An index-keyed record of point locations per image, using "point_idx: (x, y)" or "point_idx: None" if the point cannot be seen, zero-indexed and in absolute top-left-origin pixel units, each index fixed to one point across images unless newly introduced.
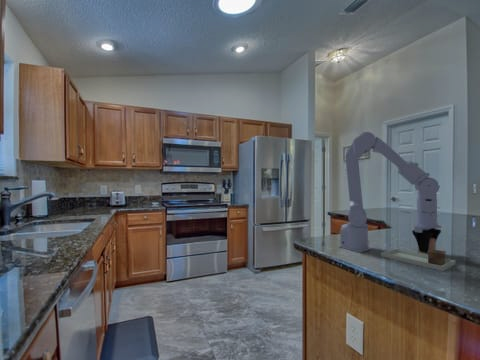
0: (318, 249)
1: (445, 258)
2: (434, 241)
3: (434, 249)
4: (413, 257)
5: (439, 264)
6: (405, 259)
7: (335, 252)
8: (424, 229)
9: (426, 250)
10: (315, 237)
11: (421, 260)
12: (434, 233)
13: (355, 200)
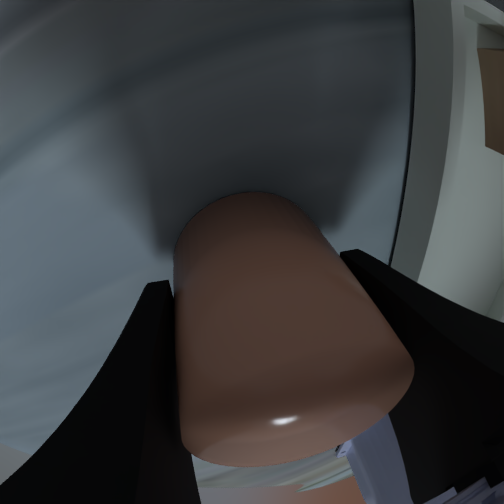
0: None
1: (458, 54)
2: (334, 319)
3: (287, 235)
4: (449, 250)
5: None
6: None
7: None
8: (493, 491)
9: (374, 261)
10: (323, 485)
11: (485, 189)
12: (158, 502)
13: None
